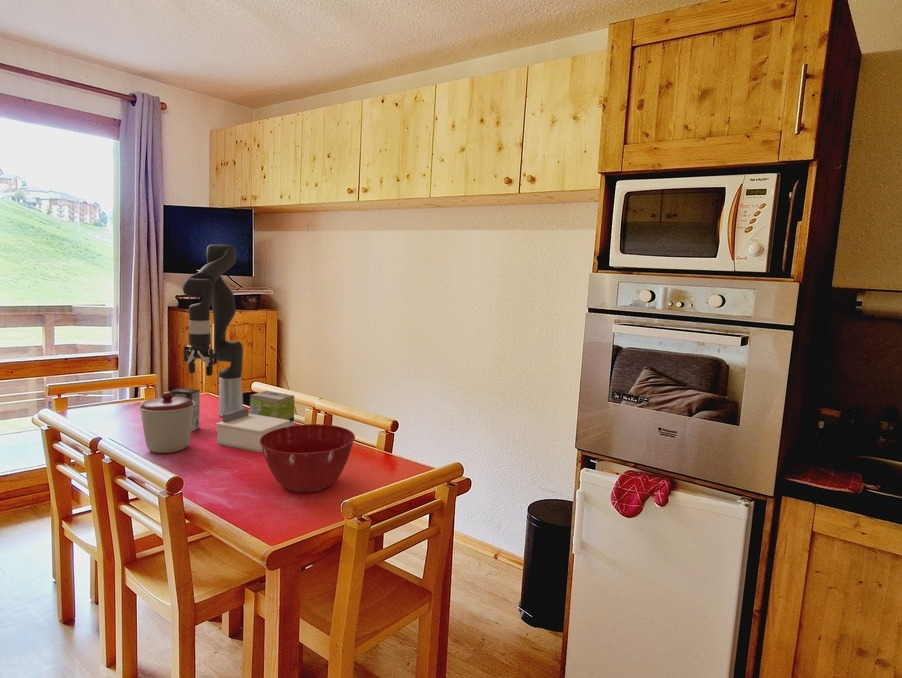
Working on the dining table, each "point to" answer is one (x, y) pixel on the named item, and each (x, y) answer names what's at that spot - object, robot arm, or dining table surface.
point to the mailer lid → (250, 421)
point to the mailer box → (242, 438)
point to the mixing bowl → (307, 455)
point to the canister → (167, 422)
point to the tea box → (273, 405)
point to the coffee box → (194, 396)
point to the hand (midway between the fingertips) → (200, 374)
